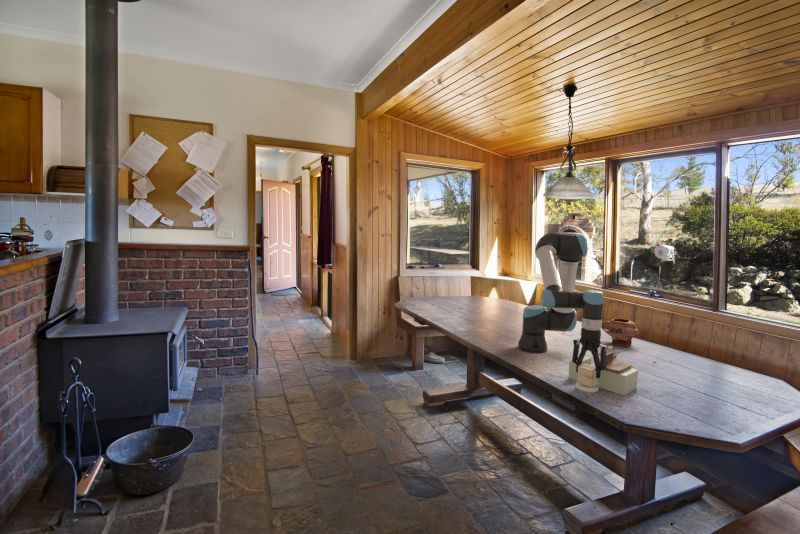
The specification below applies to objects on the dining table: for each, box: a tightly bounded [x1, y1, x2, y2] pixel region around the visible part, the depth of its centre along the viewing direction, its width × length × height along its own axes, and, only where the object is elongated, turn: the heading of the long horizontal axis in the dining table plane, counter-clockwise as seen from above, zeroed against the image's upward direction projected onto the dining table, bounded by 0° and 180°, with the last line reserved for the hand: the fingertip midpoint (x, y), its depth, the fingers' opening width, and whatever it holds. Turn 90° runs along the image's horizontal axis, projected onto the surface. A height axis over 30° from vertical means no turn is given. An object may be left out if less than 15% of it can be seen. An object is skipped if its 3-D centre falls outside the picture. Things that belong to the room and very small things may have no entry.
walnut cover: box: [605, 352, 632, 373], centre depth 188 cm, size 9×12×5 cm
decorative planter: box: [601, 318, 640, 347], centre depth 254 cm, size 20×12×14 cm, turn 53°
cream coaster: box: [575, 382, 600, 394], centre depth 186 cm, size 9×9×1 cm
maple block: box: [576, 364, 596, 387], centre depth 186 cm, size 6×6×7 cm
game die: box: [598, 343, 620, 361], centre depth 223 cm, size 9×8×10 cm
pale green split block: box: [567, 355, 639, 396], centre depth 192 cm, size 24×12×8 cm, turn 41°
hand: (587, 382), depth 186 cm, fingers closed on maple block, 6 cm apart
